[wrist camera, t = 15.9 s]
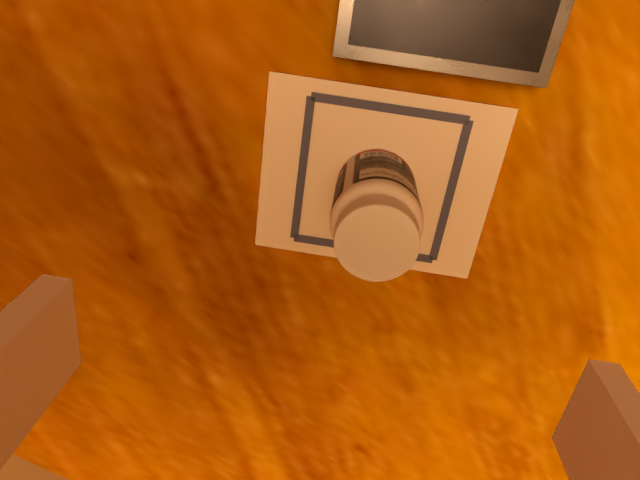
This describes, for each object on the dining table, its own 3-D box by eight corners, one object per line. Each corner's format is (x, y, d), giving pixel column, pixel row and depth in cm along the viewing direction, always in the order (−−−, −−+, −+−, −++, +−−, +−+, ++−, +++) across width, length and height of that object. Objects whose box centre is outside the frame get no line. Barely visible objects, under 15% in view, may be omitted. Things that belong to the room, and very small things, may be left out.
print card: (255, 243, 34) (254, 245, 33) (269, 71, 29) (269, 71, 28) (466, 277, 33) (467, 279, 33) (517, 108, 28) (519, 109, 28)
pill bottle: (369, 234, 32) (368, 307, 25) (320, 179, 31) (303, 239, 24) (431, 190, 31) (449, 254, 23) (382, 130, 29) (385, 177, 22)
